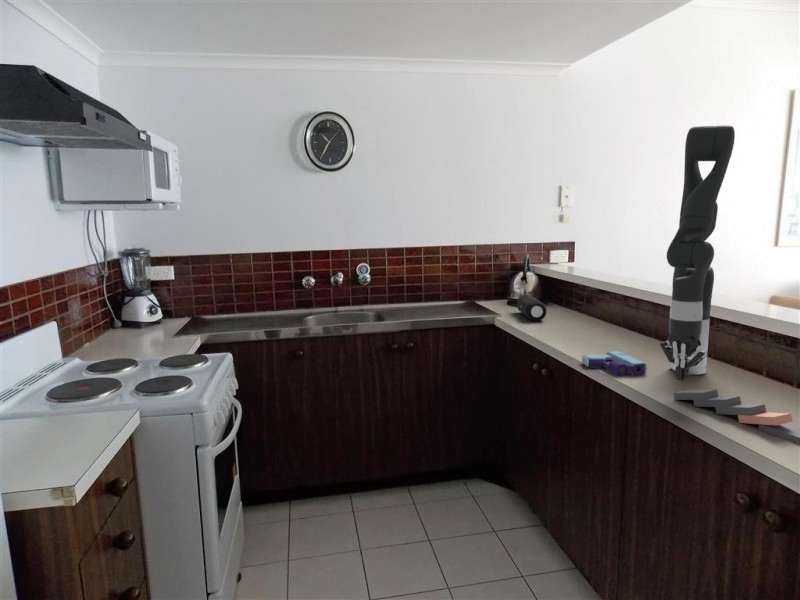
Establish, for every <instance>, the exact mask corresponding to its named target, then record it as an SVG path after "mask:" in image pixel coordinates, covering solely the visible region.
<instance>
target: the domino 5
mask: <svg viewBox="0 0 800 600" xmlns="http://www.w3.org/2000/svg"><path fill="white" fill-rule="evenodd" d="M757 429H758V430H759V429H760V431H762V430H763V432H765V431H766V432H765V433H768V432H769V433H768V434H771V433H772V434H771V435H773V434H774V436H776V435H777V437H779V436H780V437H779V438H781V439H784V438H785V440H787V439H788V441H790V440H791V441H790V442H793V441H794V442H793V443H795V442H798V443H800V427H796V426H794V425H793V426H792V425H790V424H788V423H784V424H780V425H763V424H758V428H757ZM798 443H797V444H798Z"/></svg>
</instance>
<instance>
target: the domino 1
mask: <svg viewBox="0 0 800 600" xmlns="http://www.w3.org/2000/svg"><path fill="white" fill-rule="evenodd" d="M672 395H673V398H674V400H676V401H678V400H679V401H681V400H682V401H685V400H686V401H689V400H690V401H693V400H706V399H710V398H715V397H719V396H720V395H719V392H718V389H686V390H685V389H684V390H681V391H676V392H673V393H672Z"/></svg>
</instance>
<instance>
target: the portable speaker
mask: <svg viewBox="0 0 800 600" xmlns="http://www.w3.org/2000/svg"><path fill="white" fill-rule="evenodd" d="M516 308H517V309H518V311H519V312H520V313H521V314H523V316H525V317H526V318H528V319H529V320H530V321H531V322H540V321H543V319H544V318H545V317H546V316H547V312H548V310H547V306H546V304H545V303H543V302H542V301H540V300H539V299H537V298H536V297H535V296H533V295H531V294H528V293H526V294H522V295H520V296H519V297H518V298H517V301H516Z"/></svg>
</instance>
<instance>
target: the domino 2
mask: <svg viewBox="0 0 800 600" xmlns="http://www.w3.org/2000/svg"><path fill="white" fill-rule="evenodd" d="M718 396H719V397H715V398H710V399H706V400H692V401H693V405H694V407H695V406H696V407H698V408H700V407H701V408H706V407H707V408H715V407H730V406H734V405H738V404H743V403H742V399H741V396H739V395H734V396H731V395H730V396H729V395H728V396H727V395H726V396H724V395H723V396H720V395H718ZM696 407H695V408H696Z"/></svg>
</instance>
